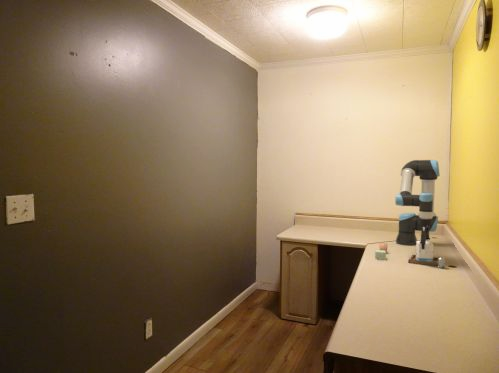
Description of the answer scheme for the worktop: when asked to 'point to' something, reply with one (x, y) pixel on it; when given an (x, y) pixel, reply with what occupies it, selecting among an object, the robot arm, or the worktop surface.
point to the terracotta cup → (383, 247)
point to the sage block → (380, 254)
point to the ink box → (429, 252)
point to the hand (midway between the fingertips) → (424, 252)
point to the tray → (414, 261)
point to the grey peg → (441, 262)
